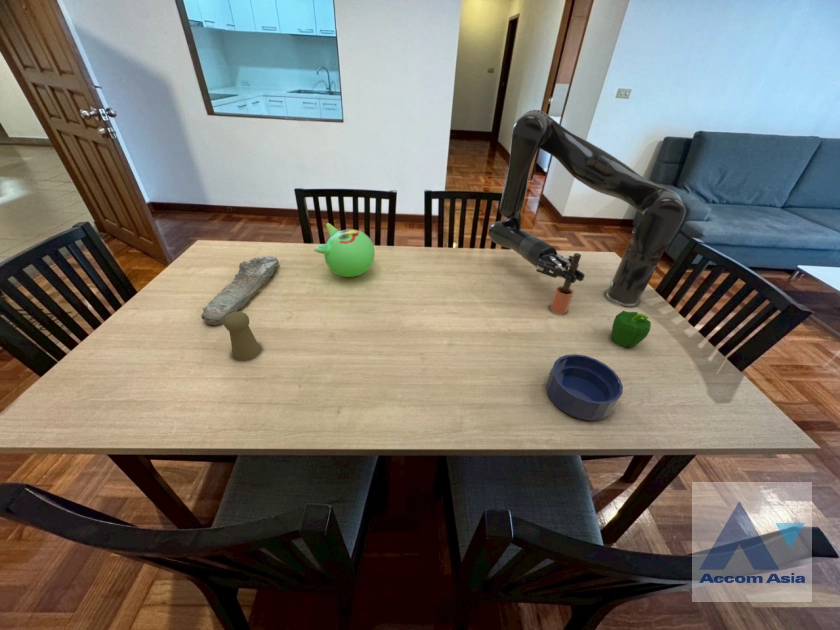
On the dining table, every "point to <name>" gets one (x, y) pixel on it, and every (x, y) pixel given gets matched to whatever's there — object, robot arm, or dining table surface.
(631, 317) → the bell pepper
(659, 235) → the robot arm
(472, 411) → the dining table surface
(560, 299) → the utensil cup
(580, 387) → the blue bowl
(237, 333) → the olive brown pawn
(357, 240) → the toy bird
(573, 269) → the stirring stick
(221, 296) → the long grey stone
